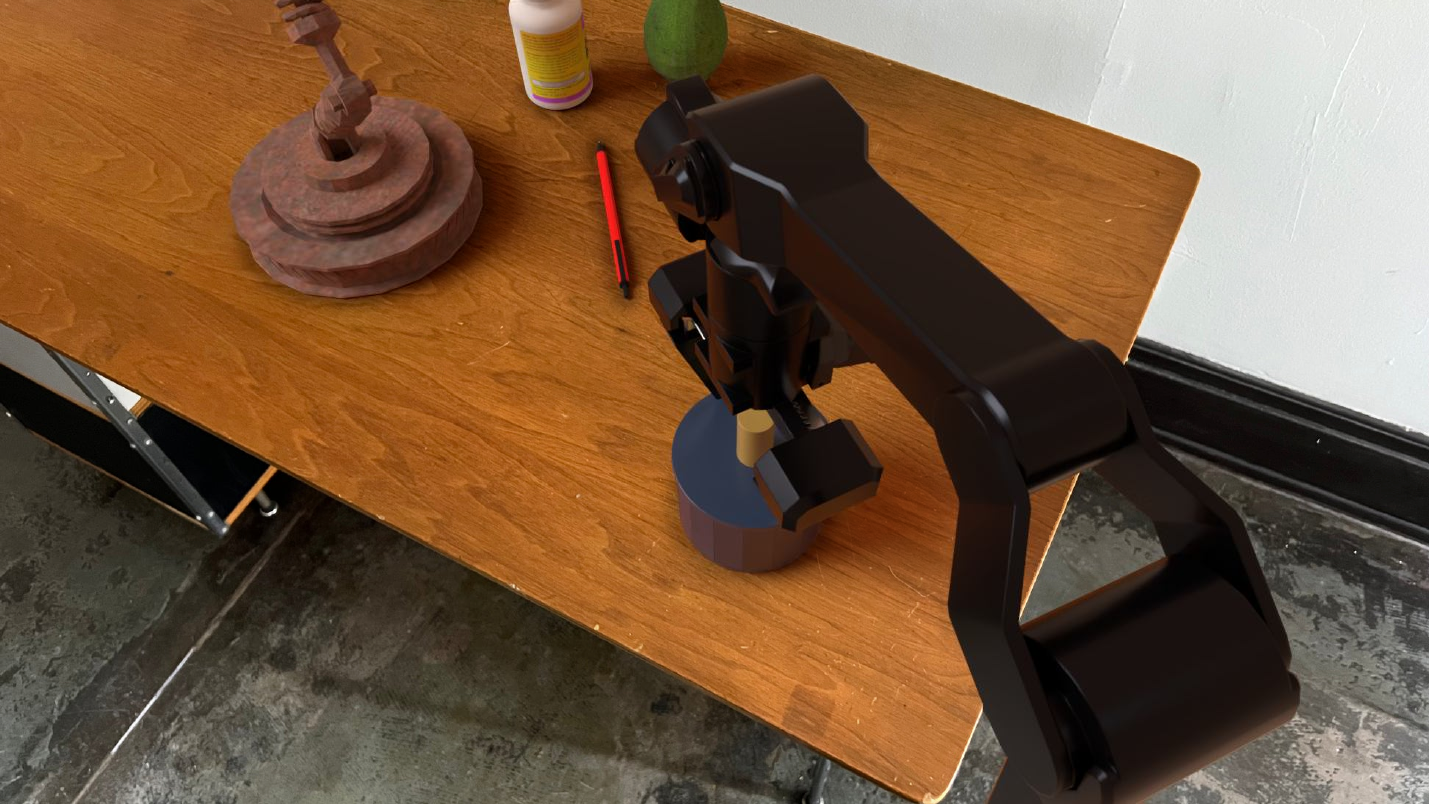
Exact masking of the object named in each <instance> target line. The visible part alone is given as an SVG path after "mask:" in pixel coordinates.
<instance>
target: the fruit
mask: <svg viewBox="0 0 1429 804" xmlns="http://www.w3.org/2000/svg"><path fill="white" fill-rule="evenodd" d="M728 42H729V32H728V20H727V16H726V13H725V10H724V7H723V5H722V3H721V0H651V1H650V3H649V6H648V8H647V12H646V15H645V19H644V23H643V49H644V51H645V54H646V57H647V60H648V62H649V64H650V65H651V67H652V69H653V70H654V71H655V72H656V73H657V74H658V75H660V76H661V77H662V78H664V79H665V80H666V81H667V82H668V83H671V82H675V81H678V80H681V79H685V78H688V77H691V76H695V75H698V74H700V75H701V77H702V78H703V80H704V81H705V82H706V81H707V80H708V79H710V78H712V76H713V75H714V74H715V72H716V71H717V69H718V68H719V66H720V64H721V63H722V62H723V59H724V57H725V52H726V50H727V48H728V47H727V46H728Z"/></svg>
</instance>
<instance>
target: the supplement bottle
mask: <svg viewBox="0 0 1429 804" xmlns="http://www.w3.org/2000/svg"><path fill="white" fill-rule="evenodd" d="M582 5H583V4H582V1H581V0H509V4H508V15H509V20H510V24H511V29H512V33H513V38H514V42H515V47H516V51H517V56H518V61H519V66H520V72H521V75H522V80H523V84H524V85H523V86H524V89H525V93H526V95H527V97H528V98H529V100H530V101H531V102H532V103H534V104H535V105H537V106H538V107H541V108H543V109H547V110H551V111H552V110H554V111H561V110H566V109H571V108H574V107H576V106H578V105H580V104H582V103H583V102H584V101H586V99H587V98H588V97H589V96H590V95H591V92H592V90H593V88H594V87H593V86H594V80H593V79H594V78H593V72H592V63H591V58H590V53H589V47H588V38H587V32H586V25H585V18H584V11H583V10H584V9H583V6H582Z"/></svg>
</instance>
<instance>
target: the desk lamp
mask: <svg viewBox="0 0 1429 804" xmlns="http://www.w3.org/2000/svg"><path fill="white" fill-rule="evenodd" d="M323 1H324V0H274V2H273V5H274V6H275V7H277V8H278V9H279V10H280V9H284V8H285V7H287V6H291V5H294V8H292V9H289V10H287V11H285V12H284V13H282V15H281V19H283V21H284V22H285V23H292V24H290V25H289V26H288V27H287V28H286V29H285V32H286V34H287V35H288V37H289V39H290V42H291V43H292V44H295V45H302V46H308V47H312V48H314V50H315V51H316V54H317V55H318V58H319V59H320V62H321V64H322V66H323V68H324V70H325V72H326V74H327V76H328V78H329V83H328V84H327V85H325V87H324V88H323V90H321V92H320V98H319V100H318V102H316V103H315V105H314V106H313V107H312V108H311V109H308V110H305V111H303V112H301V113H300V114H297V115H296V116H294V117H292V118H290V119H288V120H287V121H285V122H283V123H281V124H280V125H278V126H276V127H274V128H272V130H270V132H268V134H266V135H265V136H264V137H263V138H262V139H261V140H259V142H257V143H256V144H255V145H254V146H253V147H252V148H250V150H249V151H248V152H247V153H246V155H245V157H244V159H243V160H242V162H241V163H240V165H239V167H238V169H237V170H236V172H235V173H234V174H233V177H232V182H231V188H230V194H229V202H228V207H229V210H230V213H231V217H232V219H233V222H234V225H235V229H236V231H237V234H238V235H239V236H240V237H241V238H242V239H243V240H244V241H245V242H246V243H247V244H248V246H249V248H250V251H251V254H252V255H251V256H252V257H253V260H254V261H255V262H256V263H257V265H259V266H260V267H261V268H262V269H263V271H265V272H266V273H267V275H269V276H270V278H272V280H273V281H276V282H277V283H280V284H282V285H284V286H286V287H289V288H290V289H293V290H296V291H298V292H299V293H302V294H304V295H309V296H316V297H317V296H318V297H327V298H335V299H343V300H344V299H350V298H358V297H366V296H373V295H380V294H384V293H387V292H390V291H393V290H396V289H398V288H400V287H403V286H406V285H408V284H411V283H414V282H417V281H419V280H421V279H423V278H424V277H426V276H427V275H429V274H430V273H431V272H433V271H435V270H436V269H438V268H439V267H440V266H443V264H445V263H446V262H448V261H449V260H451V259H452V257H454V256H455V254H456V253H457V252H458V251H459V250H460V248H461V247H462V246H463V245H464V243H465V242H466V241H467V240H468V239H469V238H470V237H471V235H472V234H473V232H474V230H475V227H476V224H477V222H478V219H479V216H480V214H481V211H482V209H483V207H484V201H483V200H484V199H483V180H482V178H481V176H480V174H479V172H478V170H477V168H476V167H475V153H474V150H473V148H472V147H471V145H470V143H469V140H468V139H467V137H466V136H465V134H464V131H463V130H462V128H461V126H459V125H458V124H456V123H455V122H454V121H453V120H452V119H450V117H448V116H447V115H446V114H444V113H443V112H441V111H440V110H439V109H436V108H435V107H431V106H430V105H429V106H428V105H425V104H423V103H420V102H418V101H415V100H413V99H409V98H400V97H391V96H380V95H378V89H377V87H376V85H375V84H374V82H373V81H372V80H371V78H367V79H365V80H364V81H362V80H361V79H360V77H359V76H358V74H357V73H355V72H353V71H352V70H351V69H350V67H349V66H348V64H347V62H346V60H345V58H344V56H343V54H342V53H341V51H340V49H339V47H338V45H337V43H336V41H335V40H334V39H335V37H336V35H337V33H338V31H339V29H340V27H341V25H342V20H341V19H340V17H339V15H338V13H337V12H336V10H335V9H331V8H332V7H331V5H329V4H327V3H325V2H323ZM300 18H301V19H300ZM294 21H295V22H294Z"/></svg>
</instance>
